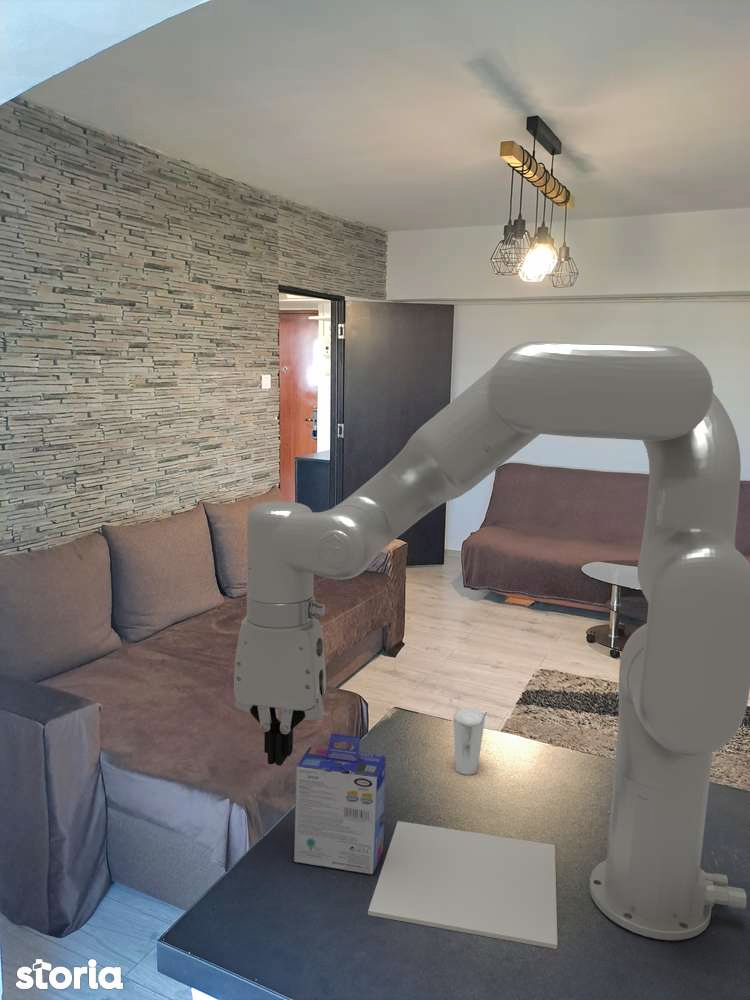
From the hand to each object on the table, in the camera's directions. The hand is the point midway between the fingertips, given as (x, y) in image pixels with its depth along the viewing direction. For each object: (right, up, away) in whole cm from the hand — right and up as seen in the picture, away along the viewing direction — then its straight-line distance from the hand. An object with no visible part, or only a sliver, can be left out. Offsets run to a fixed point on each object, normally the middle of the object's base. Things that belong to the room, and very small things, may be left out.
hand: (278, 759), depth 90 cm
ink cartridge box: (+7, -12, 0) cm, 14 cm away
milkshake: (+25, -9, +21) cm, 34 cm away
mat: (+22, -13, -3) cm, 26 cm away
